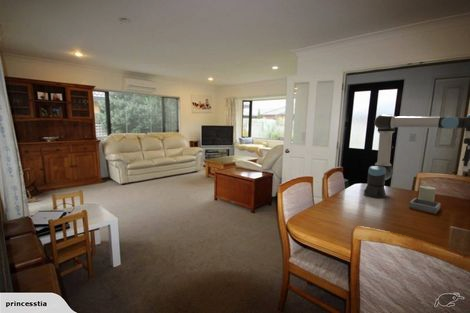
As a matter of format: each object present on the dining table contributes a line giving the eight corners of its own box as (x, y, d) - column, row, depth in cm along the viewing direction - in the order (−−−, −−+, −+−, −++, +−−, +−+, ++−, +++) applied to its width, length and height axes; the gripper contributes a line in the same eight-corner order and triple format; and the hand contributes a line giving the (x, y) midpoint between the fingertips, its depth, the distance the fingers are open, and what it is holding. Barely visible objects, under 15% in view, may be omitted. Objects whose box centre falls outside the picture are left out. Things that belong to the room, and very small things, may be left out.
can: (427, 200, 169) (429, 185, 167) (437, 204, 159) (439, 188, 158) (414, 200, 169) (416, 184, 168) (423, 204, 160) (425, 188, 159)
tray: (409, 207, 154) (409, 202, 153) (414, 203, 163) (414, 197, 162) (435, 213, 143) (436, 208, 142) (439, 208, 152) (440, 203, 151)
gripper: (477, 138, 134) (471, 173, 137) (484, 137, 148) (478, 168, 152) (459, 138, 140) (454, 171, 143) (468, 137, 155) (463, 167, 158)
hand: (467, 170), depth 147 cm, fingers open, 13 cm apart
